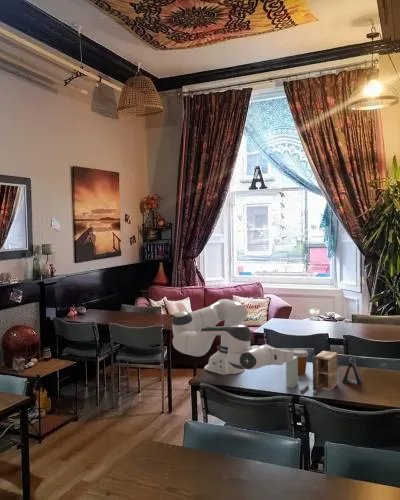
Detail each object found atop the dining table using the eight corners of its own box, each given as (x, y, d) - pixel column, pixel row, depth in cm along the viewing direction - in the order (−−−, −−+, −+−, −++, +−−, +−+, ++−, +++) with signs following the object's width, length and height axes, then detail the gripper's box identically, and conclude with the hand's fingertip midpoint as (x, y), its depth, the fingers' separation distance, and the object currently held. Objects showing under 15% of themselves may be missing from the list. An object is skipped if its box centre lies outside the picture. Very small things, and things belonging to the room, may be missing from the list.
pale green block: (286, 386, 224) (286, 358, 223) (291, 382, 230) (291, 355, 229) (293, 388, 222) (292, 359, 221) (298, 383, 228) (297, 356, 227)
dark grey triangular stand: (342, 382, 228) (342, 359, 228) (343, 379, 234) (343, 356, 233) (361, 385, 225) (361, 361, 224) (362, 381, 230) (362, 357, 229)
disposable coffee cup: (308, 376, 239) (308, 353, 238) (290, 375, 241) (290, 353, 240) (308, 370, 248) (307, 349, 248) (290, 369, 250) (290, 348, 250)
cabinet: (300, 393, 215) (300, 359, 214) (315, 380, 232) (315, 349, 231) (323, 397, 209) (323, 363, 208) (337, 384, 226) (336, 352, 225)
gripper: (244, 358, 208) (258, 353, 219) (285, 365, 196) (298, 360, 207) (244, 344, 208) (259, 340, 219) (285, 351, 196) (298, 346, 207)
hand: (278, 350), depth 213 cm, fingers open, 8 cm apart
